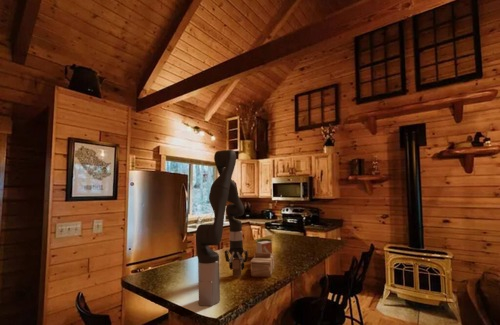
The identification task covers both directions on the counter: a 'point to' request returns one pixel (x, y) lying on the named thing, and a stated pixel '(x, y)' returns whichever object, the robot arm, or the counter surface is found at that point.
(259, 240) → the plant pot
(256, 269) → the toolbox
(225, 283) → the counter surface
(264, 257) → the lid
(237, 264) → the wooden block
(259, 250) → the small box
